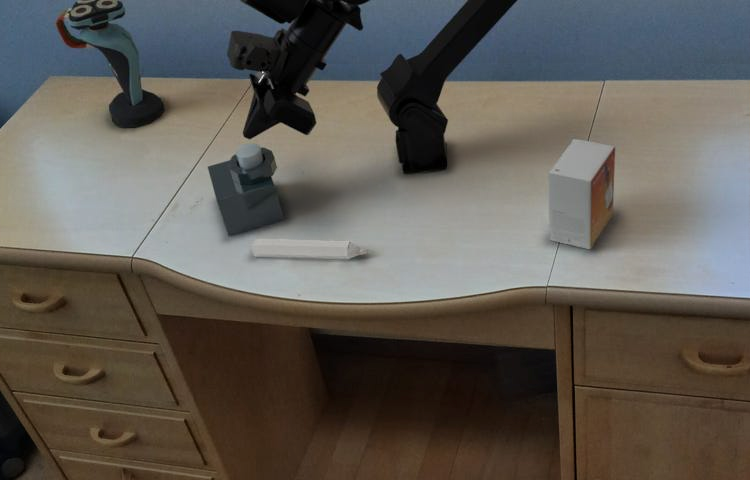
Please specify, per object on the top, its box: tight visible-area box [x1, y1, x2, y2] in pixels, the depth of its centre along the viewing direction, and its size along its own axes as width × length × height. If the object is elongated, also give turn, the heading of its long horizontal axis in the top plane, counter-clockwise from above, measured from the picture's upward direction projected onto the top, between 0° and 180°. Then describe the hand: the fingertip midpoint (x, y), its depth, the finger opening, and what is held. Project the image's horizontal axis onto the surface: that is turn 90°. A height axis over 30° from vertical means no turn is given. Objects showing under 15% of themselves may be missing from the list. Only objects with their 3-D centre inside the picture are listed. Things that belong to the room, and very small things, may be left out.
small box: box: [547, 138, 616, 250], centre depth 115 cm, size 8×6×10 cm
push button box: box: [207, 146, 285, 237], centre depth 129 cm, size 9×9×8 cm
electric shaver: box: [55, 0, 166, 129], centre depth 150 cm, size 9×12×20 cm
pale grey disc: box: [235, 142, 264, 169], centre depth 126 cm, size 3×3×2 cm
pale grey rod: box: [251, 238, 371, 260], centre depth 122 cm, size 3×2×16 cm
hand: (246, 136), depth 124 cm, fingers closed
